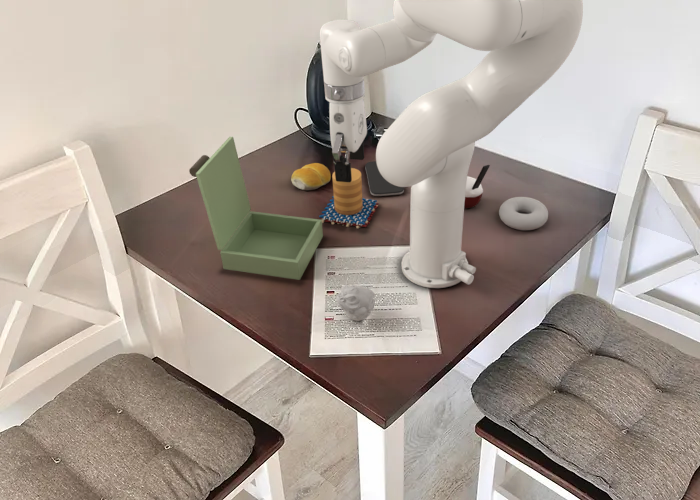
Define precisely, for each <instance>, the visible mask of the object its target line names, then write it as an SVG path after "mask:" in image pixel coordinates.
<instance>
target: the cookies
mask: <svg viewBox="0 0 700 500" xmlns="http://www.w3.org/2000/svg"><path fill="white" fill-rule="evenodd" d="M331 175H332V176H331V178H332V189H333V191H332V192H333V196H334V207H335V211H336V212H338V213H339V214H343V215H353V214H356V213H358V212H360V211H361V210H362V208H363V203H362V199H363V180H362V179H363V178H362V177H363V176H362V172H361V171H360V170H359V169H358V168H354V167H351V175H352V181H351V182H338V181H336V178H335V171H334V172H332V174H331Z"/></svg>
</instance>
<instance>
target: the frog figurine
mask: <svg viewBox="0 0 700 500" xmlns="http://www.w3.org/2000/svg"><path fill="white" fill-rule="evenodd" d="M335 300H336V304H337V305H338V307H339V308H340V309H341V310H342V311H343V312H344V314H345V316H346V317H347V318H348V319H350V320H352V321H355V322H360V321H364V320H365V319H367V318H368V317H369V316H370V315H371V313H372V311H373V310H374V309H375V304H376V303H375V292H374V291H373V290H371V289H370V288H368V287H365V286H361V285H354V284H352V285H349V284H344V285H342V286H341V289H340V291H339V292H338V293H337V295H335Z"/></svg>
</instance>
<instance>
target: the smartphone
mask: <svg viewBox="0 0 700 500" xmlns="http://www.w3.org/2000/svg"><path fill="white" fill-rule="evenodd" d="M364 167H365V172H366V177H367V182H368V187H369V192H370V194H371V195H372V196H374V197H388V196H390V197H391V196H399V195H402V194H403V193H405V187H398V186H395V185H393V184H391V183H389V182H388V181H386V180H385V179H384V178H383V177H382V175H381V174H380V172H379V170H378V167H377V163H376V160H373V161H368V162H367V163H365V166H364Z"/></svg>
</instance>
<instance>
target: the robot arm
mask: <svg viewBox="0 0 700 500" xmlns="http://www.w3.org/2000/svg"><path fill="white" fill-rule="evenodd" d="M583 4H584V3H583V0H393V4H392V14H393V18H391V19H389V20H387V21H384V22H381V23H377V24H374V25H370V26H368V27H365V28H362V29H361V26H360V24H359V23H358V22H357V21H355V20H352V19H348V18H347V19H345V18H344V19H343V18H341V19H333V20H330V21H327V22H325V23H323V24H322V25H321V27H320V29H319V41H320V52H321V53H320V54H321V64H322V65H321V66H322V77H323V85H324V97H325V98H324V99H325V100H326V101H327V102H329V103H328V104H329V107H328V109H329V111H328V113H329V134H330V135H329V136H330V143H331V144H330V145H331V149H332V150H331V153H332V160H333V165H334V172H335V178H336V181H338V182H351V181H352V175H351V168H352V165H351V164H352V163H351V162H350V160H359V161H363V160H364V159H365V146H364V143H365V142H364V140H365V138H366V137H367V135H368V125H367V118H366V117H367V116H366V115H367V113H366V107H365V99H364V98H365V95H366V94H365V93H366V92H365V91H366V90H365V78H364V77H365V76H369V75H371V74H374V73H377V72H379V71H383V70H384V69H387V68H388V69H389V68H390V67H393V66H396V65H399V64H402V63H404V62H406V61H407V60H409V59H411V58H412V57H415V56H416V55H417V54H418V53H420V52H421V51H424V49H426V48H427V47H428V46H430V45H431V44H432V43H433V42H434V41H435V38H436V36H437V34H438V35H441V36H442V37H445V38H448V39H449V40H452V41H453V42H456V43H458V44H460V45H462V46H465V47H466V48H470V49H473V50H475V51H481V52H488V53H487V54H486V55H485V56H484V57H483V59H482V60H481V61H480V62H478V64H477V65H476V66H475V67H474V68H473V69H472V70H471V71H470V72H468V73H467V74H466V75H465V76H463V77H461V78H459V79H457V80H454V81H452V82H449V83H447V84H444V85H442V86H439V87H437V88H435V89H432V90H430V91H428V92H426V93H424V94H422V95H420V96H418V97H416V99H414V100H412V101H411V103H409V104H408V105H407V106H406V108H405V109H403V110H402V111H401V113H400V114H399V115H398V116H397V117H396V119H395V120H394V121H393V122H392V123H391V125H390V126H389V127H388V128H387V129H386V130H385V131H384V132H383V133H382V135H381V136H380V139H379V140H378V143H377V146H376V149H375V161H376V163H377V167H378V170H379V172H380V174H381V175H382V177H383V178H384V179H385V180H386V181H388V182H389V183H391V184H393V185H395V186H398V187H404V188H408V187H409V188H410V203H409V205H410V207H409V210H410V211H409V212H410V215H409V250H408V251H407V252H406V253H404V255H403V256H402V259H401V265H400V266H401V272H402V274H403V276H404V277H406V279H407V280H408V281H409V282H412V283H413V284H415V285H417V286H420V287H424V288H429V289H444V288H448V287H452V286H455V285H457V284H459V283H461V282H463V283H464V284H465V285H472V283H473V282H474V279H475V276H474V274H475V273H476V271H477V267H476V266H473V265H471V264H469V261H468V259H467V257H466V256H467V252H465V251H463V250H462V243H463V227H464V215H465V208H464V202H465V192H466V182H467V176H469V175H468V174H469V170H470V165H471V163H472V160H473V155H474V152H475V147H476V142H477V141H479V140H481V139H484V138H485V137H487V136H488V135H490V133H492V132H493V131H494V130H495V129H496V128H497V127H498V126H499V125H500V124H501V123H503V121H504V120H505V119H507V118H509V116H511V114H512V113H514V112H515V111H516V110H518V108H520V107H521V106H522V105H523V103H525V102H526V101H527V100H528V99H529V98H531V96H532V95H533V94H535V92H537V91H538V90H539V89H540V88H541V87H542V86H543V85H545V83H547V82H548V81H549V80H550V79H551V78H552V77H553V76H554V75H555V74H556V72H558V70H559V69H561V67H562V65H563V64H564V63H565V62H566V61H567V59H568V57H569V56H570V54H571V53H572V51H573V49H574V47H575V45H576V43H577V41H578V38H579V36H580V33H581V28H582V25H583V24H582V23H583V14H584V5H583ZM342 153H345V155H342Z"/></svg>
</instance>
